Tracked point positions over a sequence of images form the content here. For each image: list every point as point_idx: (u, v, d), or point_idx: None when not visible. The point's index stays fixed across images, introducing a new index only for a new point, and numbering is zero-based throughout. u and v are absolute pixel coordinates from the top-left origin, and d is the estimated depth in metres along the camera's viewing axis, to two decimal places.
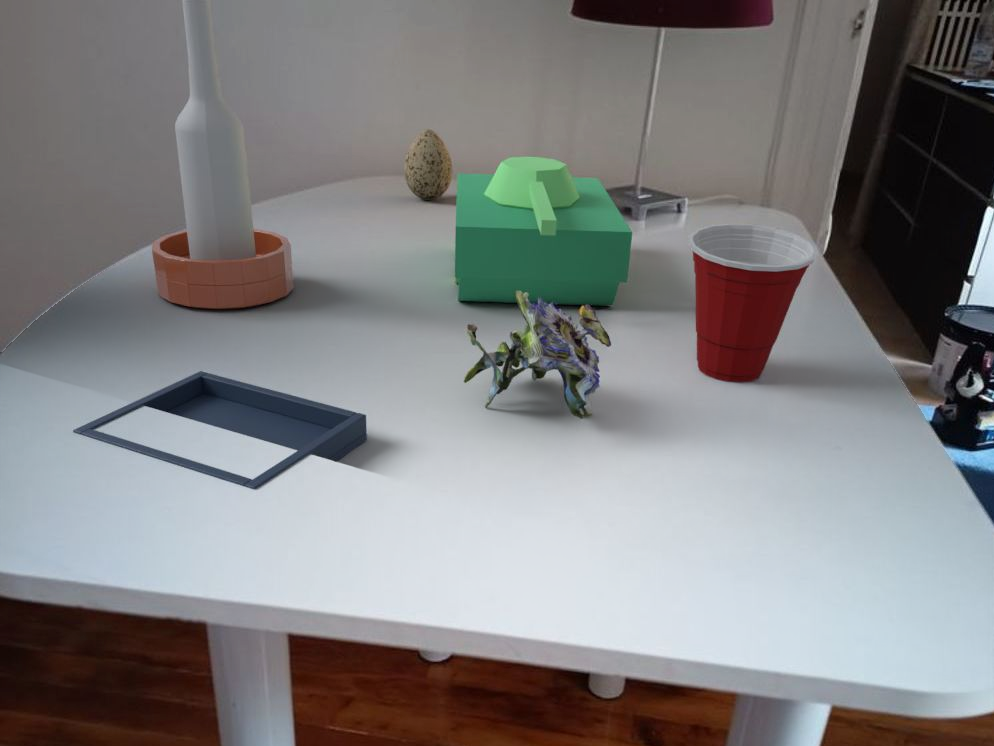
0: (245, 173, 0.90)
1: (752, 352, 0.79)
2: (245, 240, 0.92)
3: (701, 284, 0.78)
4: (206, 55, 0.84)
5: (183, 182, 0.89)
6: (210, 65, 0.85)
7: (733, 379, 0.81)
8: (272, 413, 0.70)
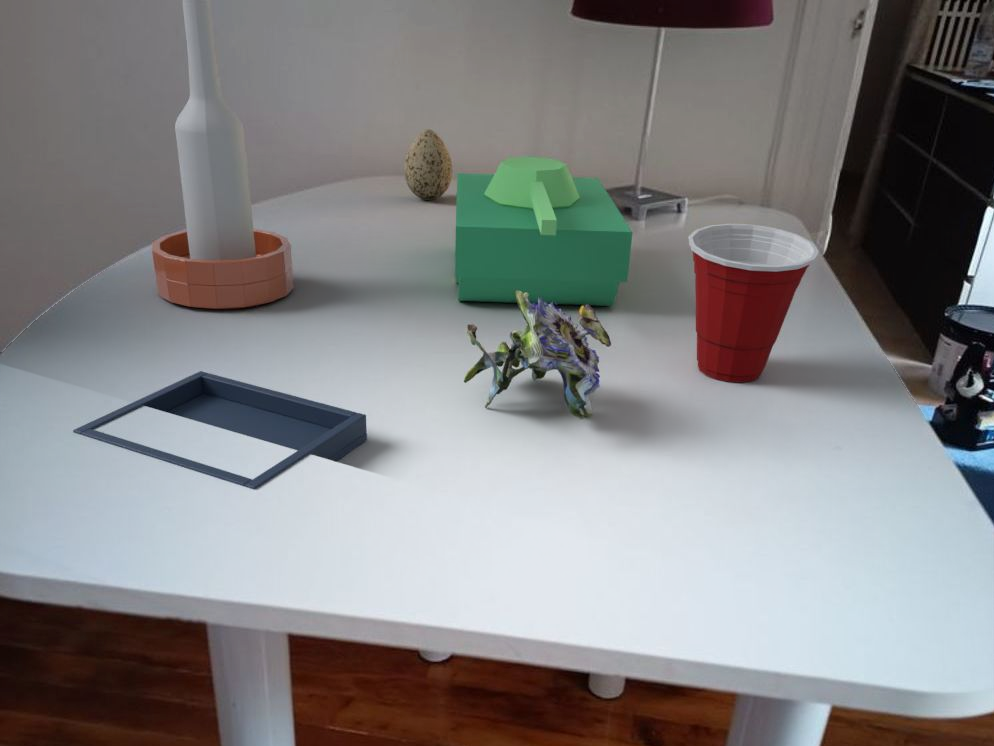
0: (245, 173, 0.90)
1: (752, 352, 0.79)
2: (245, 240, 0.92)
3: (701, 284, 0.78)
4: (206, 55, 0.84)
5: (183, 182, 0.89)
6: (210, 65, 0.85)
7: (733, 379, 0.81)
8: (272, 413, 0.70)
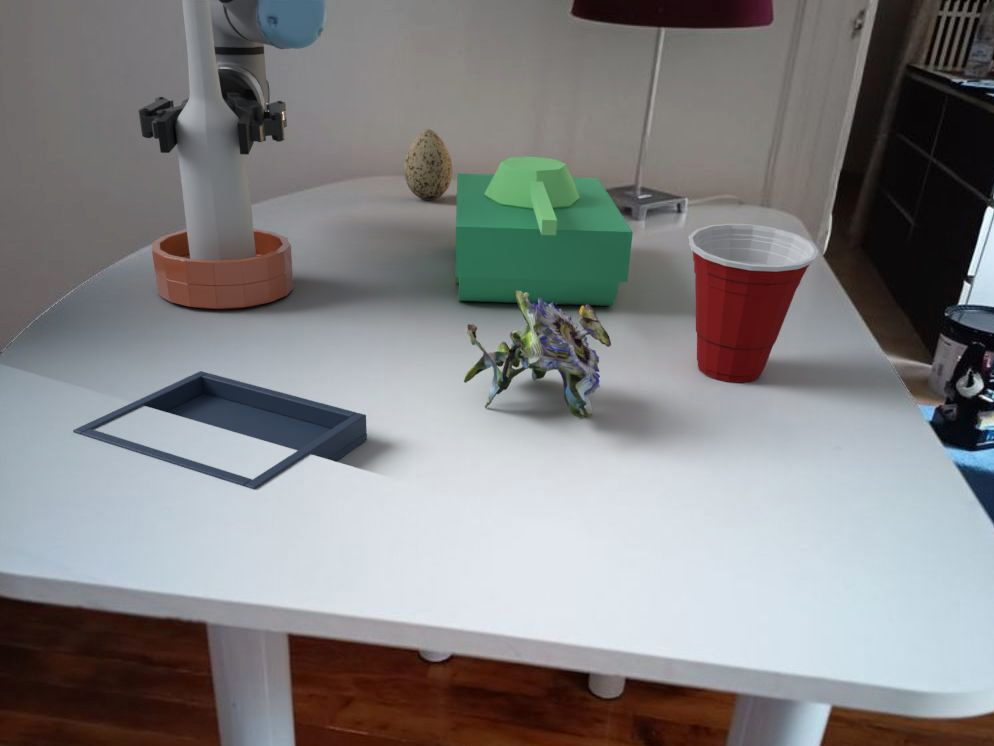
0: (245, 173, 0.90)
1: (752, 352, 0.79)
2: (245, 240, 0.92)
3: (701, 284, 0.78)
4: (205, 55, 0.84)
5: (183, 182, 0.89)
6: (210, 65, 0.85)
7: (733, 379, 0.81)
8: (272, 413, 0.70)
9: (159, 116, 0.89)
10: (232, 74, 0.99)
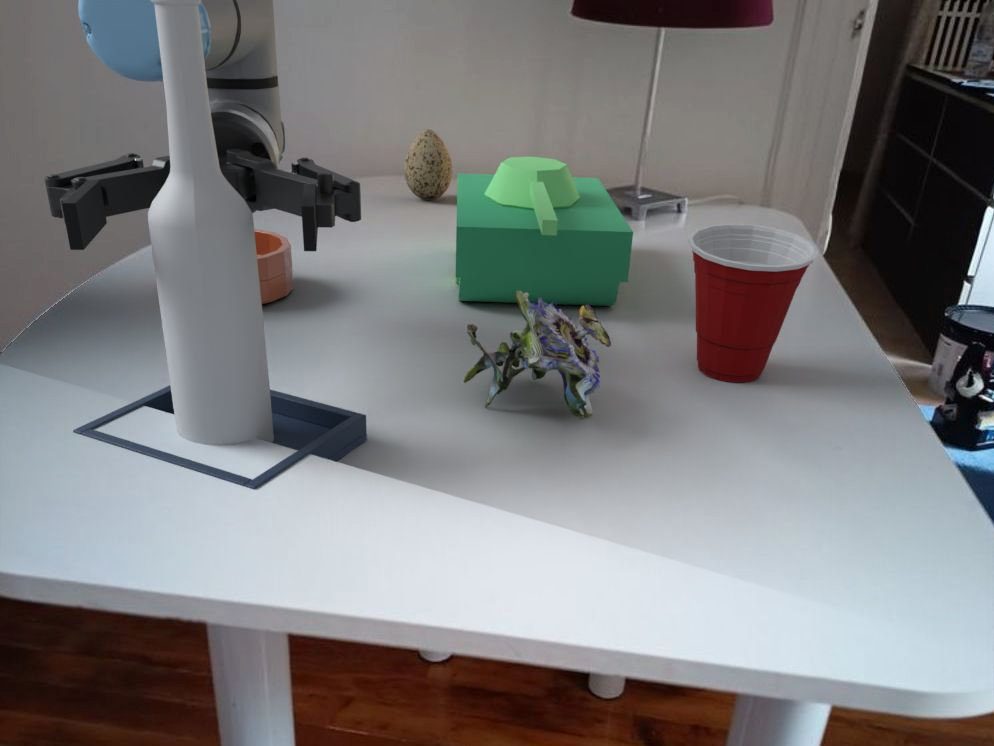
0: (256, 283, 0.59)
1: (752, 352, 0.79)
2: (254, 380, 0.61)
3: (701, 284, 0.78)
4: (194, 109, 0.53)
5: (161, 299, 0.58)
6: (202, 125, 0.54)
7: (733, 379, 0.81)
8: (272, 413, 0.70)
9: (75, 187, 0.59)
10: (234, 121, 0.68)
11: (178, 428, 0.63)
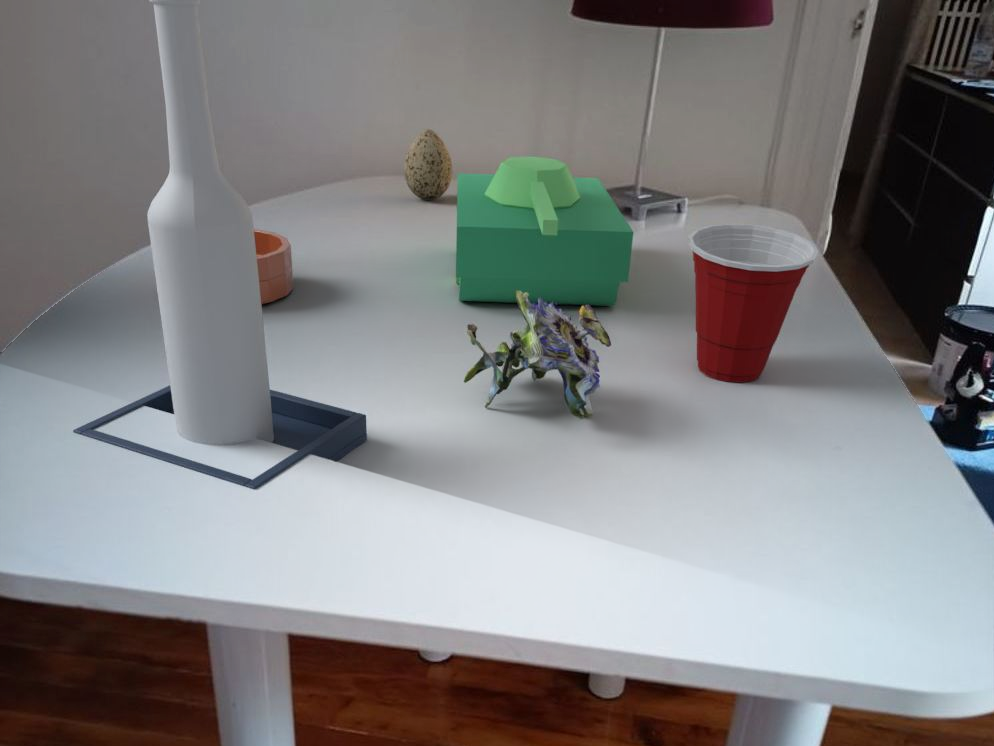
0: (255, 283, 0.59)
1: (752, 352, 0.79)
2: (254, 380, 0.61)
3: (701, 284, 0.78)
4: (194, 109, 0.53)
5: (161, 299, 0.58)
6: (201, 124, 0.54)
7: (733, 379, 0.81)
8: (272, 413, 0.70)
9: None
10: None
11: (178, 428, 0.63)
